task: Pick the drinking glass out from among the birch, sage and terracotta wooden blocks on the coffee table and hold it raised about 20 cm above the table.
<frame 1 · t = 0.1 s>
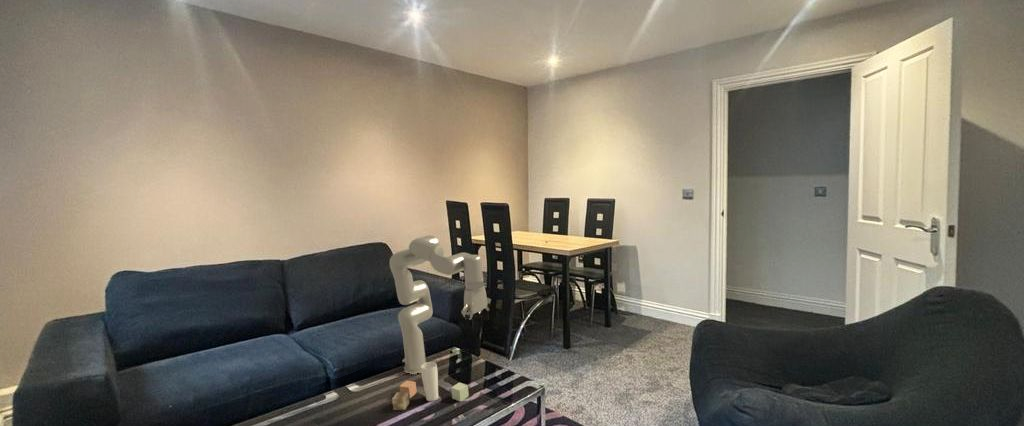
hand: (478, 323, 191), 31 cm above the table, tool pointing down, fingers open, 9 cm apart
terracotta block: (408, 394, 199), on the table
birch block: (401, 406, 190), on the table
sage block: (460, 397, 194), on the table
drinking glass: (432, 398, 194), on the table
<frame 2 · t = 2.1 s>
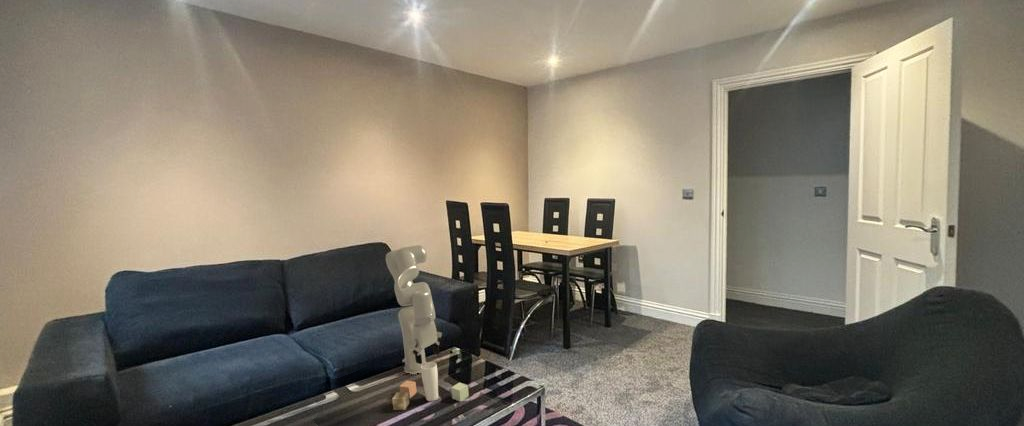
hand: (427, 358, 192), 18 cm above the table, tool pointing down, fingers open, 9 cm apart
nothing on the table moved.
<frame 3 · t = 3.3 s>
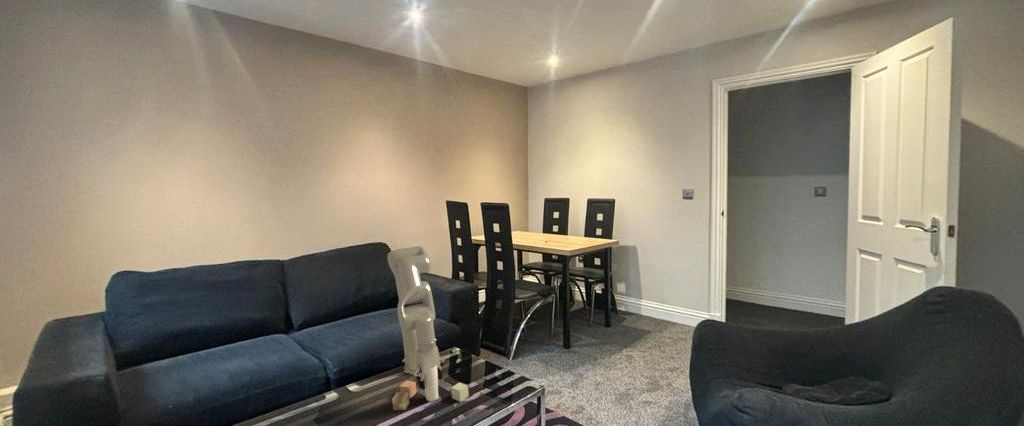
hand: (430, 383, 193), 7 cm above the table, tool pointing down, fingers open, 9 cm apart
nothing on the table moved.
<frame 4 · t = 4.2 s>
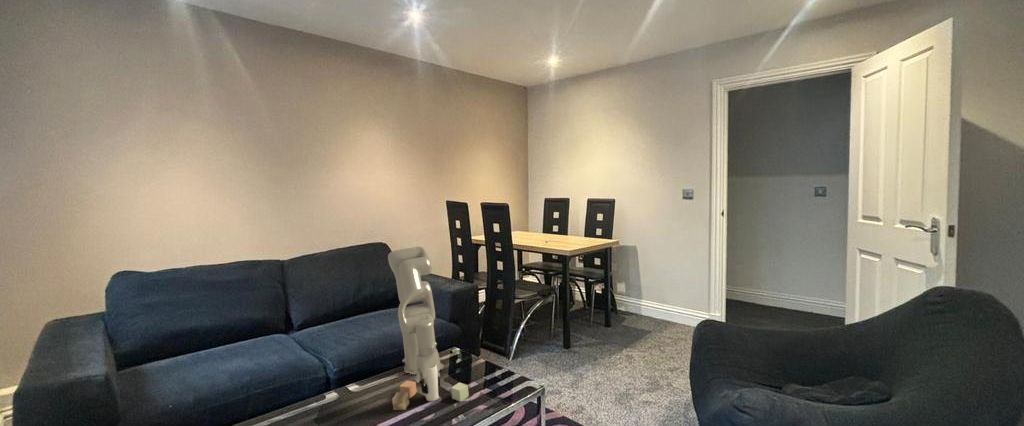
hand: (431, 388, 194), 4 cm above the table, tool pointing down, fingers closed on drinking glass, 6 cm apart
drinking glass: (432, 398, 194), on the table, touching gripper
everything else where it was.
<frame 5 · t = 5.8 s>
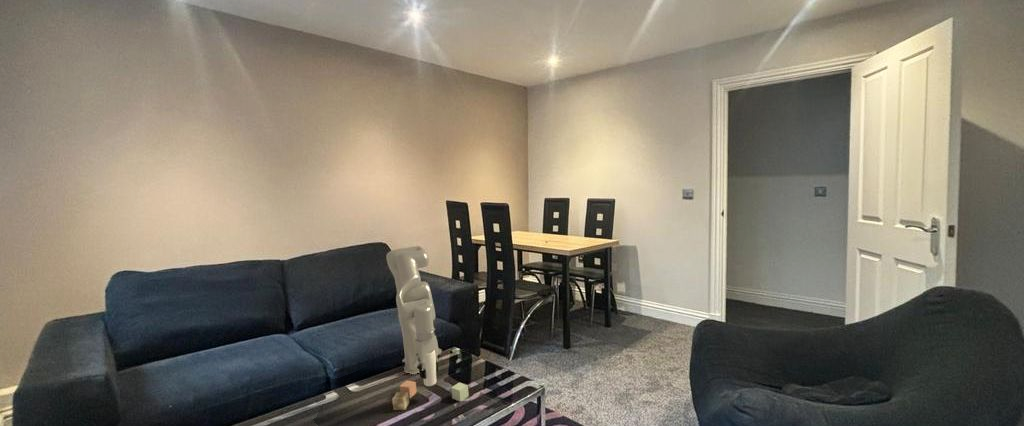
hand: (429, 373, 193), 11 cm above the table, tool pointing down, fingers closed on drinking glass, 6 cm apart
drinking glass: (430, 383, 194), point 6 cm above the table, touching gripper
everything else where it was.
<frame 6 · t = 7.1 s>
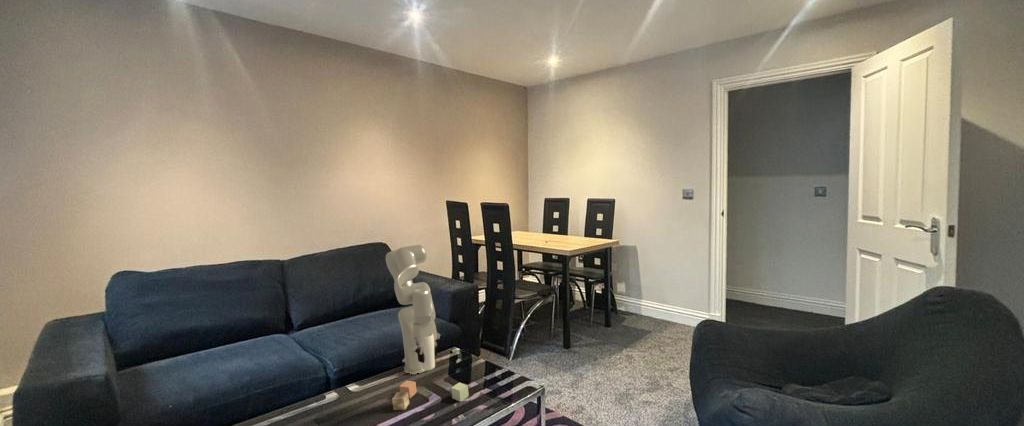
hand: (427, 358, 192), 18 cm above the table, tool pointing down, fingers closed on drinking glass, 6 cm apart
drinking glass: (428, 368, 193), point 14 cm above the table, touching gripper
everything else where it was.
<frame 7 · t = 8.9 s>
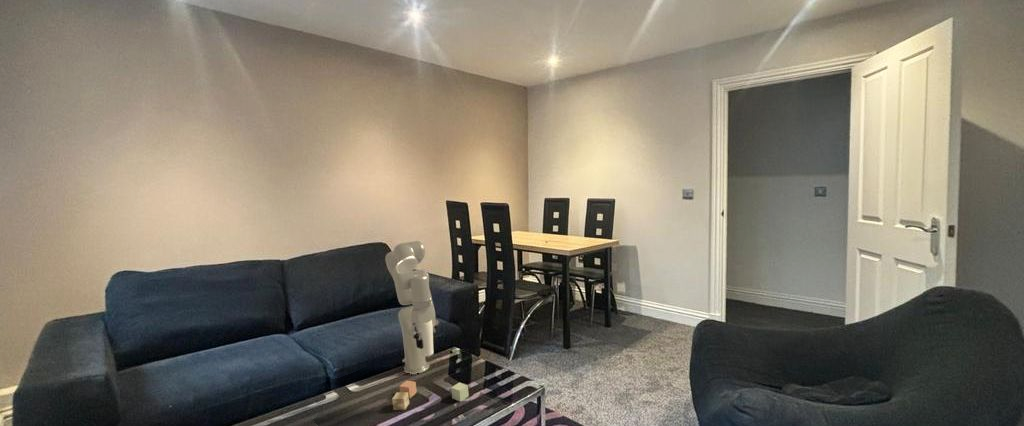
hand: (426, 344, 191), 24 cm above the table, tool pointing down, fingers closed on drinking glass, 6 cm apart
drinking glass: (427, 354, 192), point 20 cm above the table, touching gripper
everything else where it was.
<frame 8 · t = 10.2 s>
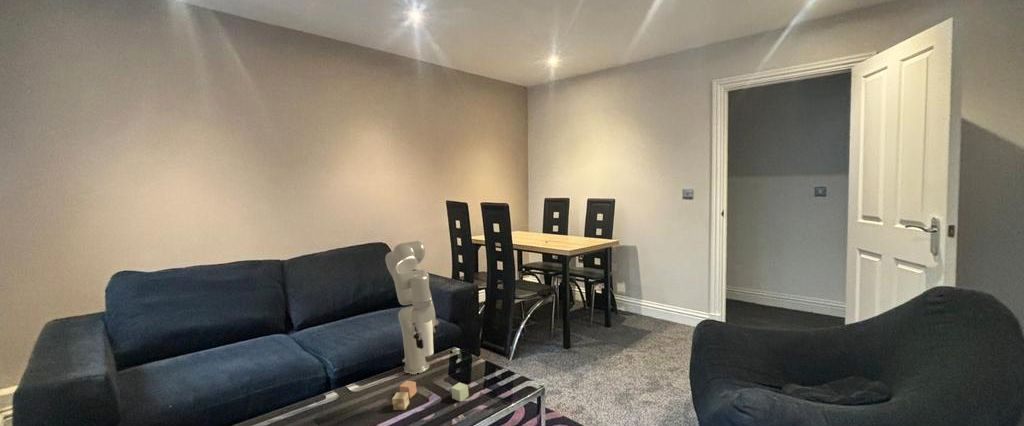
hand: (426, 344, 191), 24 cm above the table, tool pointing down, fingers closed on drinking glass, 6 cm apart
drinking glass: (427, 354, 192), point 20 cm above the table, touching gripper
everything else where it was.
at the end: the gripper is holding drinking glass; drinking glass point 19.8 cm above the table; birch block moved 0.1 cm from its start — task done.
